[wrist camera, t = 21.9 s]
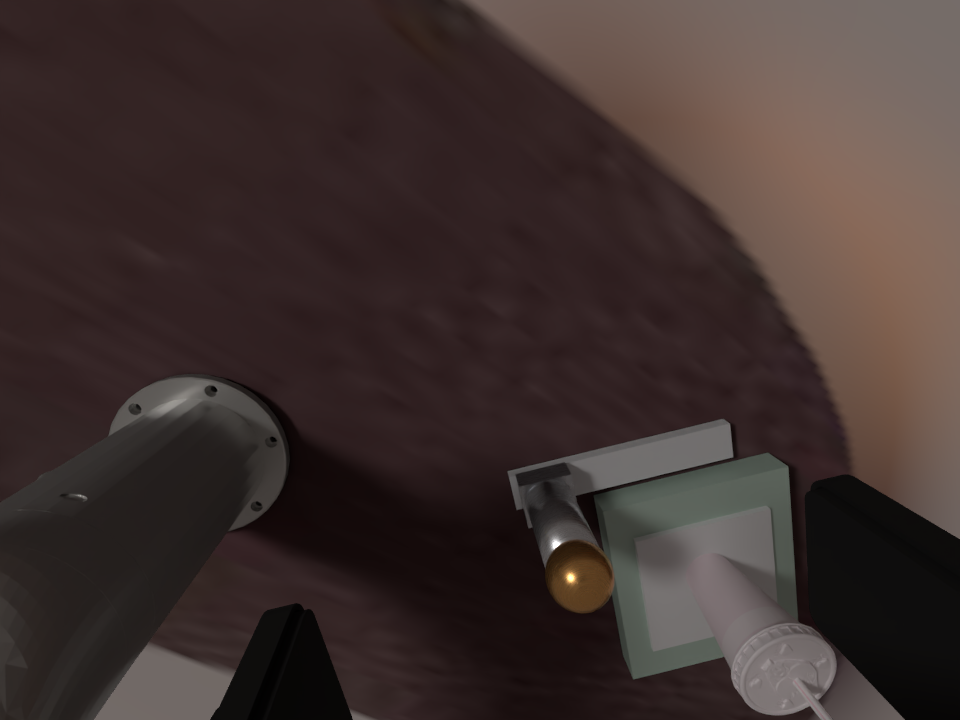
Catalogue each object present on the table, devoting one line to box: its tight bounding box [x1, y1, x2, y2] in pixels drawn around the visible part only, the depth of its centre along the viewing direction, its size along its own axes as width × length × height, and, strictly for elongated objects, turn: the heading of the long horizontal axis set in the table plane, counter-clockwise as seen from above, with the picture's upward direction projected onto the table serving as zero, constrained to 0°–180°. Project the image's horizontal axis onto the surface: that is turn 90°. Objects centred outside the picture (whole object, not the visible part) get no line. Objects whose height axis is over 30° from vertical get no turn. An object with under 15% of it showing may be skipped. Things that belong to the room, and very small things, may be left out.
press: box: [508, 419, 798, 679], centre depth 41 cm, size 22×21×3 cm
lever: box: [515, 462, 614, 614], centre depth 33 cm, size 4×4×12 cm
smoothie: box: [686, 553, 836, 720], centre depth 33 cm, size 6×6×14 cm
